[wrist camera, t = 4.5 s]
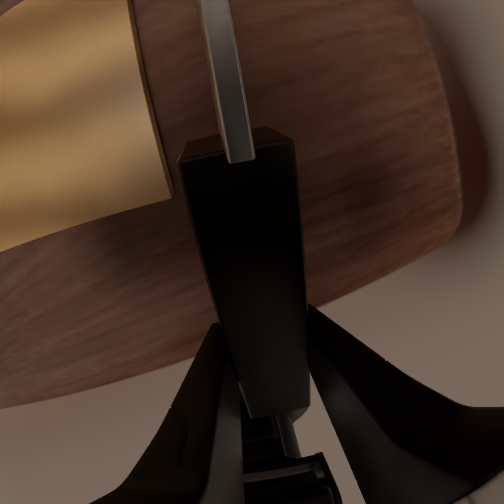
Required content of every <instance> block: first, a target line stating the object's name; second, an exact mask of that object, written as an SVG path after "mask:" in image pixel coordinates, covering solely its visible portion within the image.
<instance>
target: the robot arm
mask: <svg viewBox="0 0 504 504" xmlns="http://www.w3.org/2000/svg"><path fill="white" fill-rule="evenodd" d="M308 324H309V328H308V358H309V370H310V373H311V375H312V378H313V380H314V382H315V385H316V387H317V390H318V392H319V394H320V397H321V399H322V401H323V404H324V406H325V408H326V411H327V413H328V415H329V418H330V420H331V422H332V425H333V427H334V429H335V431H336V434H337V436H338V439H339V441H340V443H341V446H342V448H343V450H344V453H345V455H346V457H347V460H348V462H349V465H350V467H351V469H352V471H353V474H354V476H355V479H356V480H357V484H358V486H359V488H360V491H361V493H362V495H363V497H364V500H365V502H366V504H504V407H470V406H465V405H462V404H459V403H457V402H455V401H453V400H451V399H449V398H447V397H445V396H443V395H442V394H440V393H438V392H436V391H434V390H433V389H431V388H429V387H427V386H425V385H423V384H422V383H420V382H418V381H417V380H415V379H413V378H412V377H410V376H408V375H406V374H405V373H404V372H402V371H401V370H399V369H398V368H397V367H395V366H394V365H392V364H391V363H390V362H388V361H385V359H384V358H383V357H381V356H380V355H378V354H377V353H376V352H374V351H373V350H372V349H370V348H369V347H367V346H366V345H365V344H363V343H362V342H361V341H359V340H358V339H357V338H355V337H354V336H353V335H351V334H350V333H348V332H347V331H346V330H344V329H343V328H342V327H340V326H339V325H338V324H336V323H335V322H334V321H332V320H331V319H329V318H328V317H327V316H325V315H324V314H323V313H321V312H320V311H319V310H317V309H316V308H315V307H313V306H312V305H311V304H308ZM294 422H295V417H294V411H290V412H285V413H281V414H276V415H271V416H266V417H261V418H256V419H251V417H250V415H249V412H248V409H247V406H246V403H245V400H244V397H243V396H240V394H239V384H238V379H237V376H236V373H235V370H234V367H233V364H232V361H231V358H230V355H229V351H228V348H227V346H226V343H225V340H224V336H223V333H222V330H221V327H220V324H219V322H217V323H213V324H212V325H211V327H210V329H209V331H208V333H207V335H206V337H205V339H204V341H203V343H202V345H201V347H200V349H199V351H198V353H197V355H196V357H195V359H194V361H193V363H192V365H191V367H190V369H189V371H188V373H187V375H186V377H185V379H184V381H183V383H182V385H181V387H180V389H179V391H178V393H177V395H176V397H175V399H174V401H173V403H172V405H171V408H170V409H169V411H168V413H167V415H166V417H165V419H164V421H163V423H162V424H161V426H160V429H159V430H158V432H157V433H156V435H155V436H154V438H153V440H152V441H151V443H150V444H149V446H148V447H147V449H146V450H145V452H144V454H143V455H142V457H141V458H140V459H139V461H138V462H137V464H136V465H135V467H134V468H133V470H132V471H131V473H130V474H129V476H128V477H127V478H126V479H125V481H124V482H123V483H122V484H121V485H120V486H119V487H118V488H116V489H115V490H114V491H112V492H110V493H108V494H107V495H105V496H103V497H101V498H99V499H97V500H95V501H93V502H91V503H89V504H343V503H342V499H341V495H340V492H339V489H338V487H337V485H336V482H335V480H334V478H333V476H332V473H331V471H330V469H329V467H328V464H327V462H326V460H325V457H324V455H323V453H322V452H320V453H316V454H315V455H311V456H307V457H301V454H300V450H299V446H298V442H297V438H296V435H295V431H294V427H293V423H294Z"/></svg>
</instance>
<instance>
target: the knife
mask: <svg viewBox="0 0 504 504" xmlns="http://www.w3.org/2000/svg"><path fill="white" fill-rule="evenodd" d="M196 4H197V10H198V15H199V21H200V27H201V33H202V39H203V44H204V50H205V56H206V61H207V67H208V73H209V78H210V84H211V89H212V95H213V100H214V106H215V111H216V117H217V122H218V128H219V133H220V135H215V136H210V137H205V138H201V139H196V140H191V141H188V142H186V143H185V146H184V148H183V150H182V152H181V154H180V156H179V158H178V160H177V168H178V172H179V177H180V181H181V185H182V189H183V193H184V197H185V201H186V205H187V209H188V213H189V217H190V221H191V225H192V229H193V232H194V236H195V240H196V244H197V247H198V251H199V255H200V258H201V262H202V265H203V269H204V273H205V276H206V280H207V283H208V287H209V290H210V293H211V297H212V300H213V304H214V307H215V310H216V314H217V317H218V320H219V324H220V327H221V330H222V333H223V336H224V340H225V343H226V346H227V348H228V351H229V355H230V358H231V361H232V364H233V367H234V370H235V373H236V376H237V379H238V383H239V386H240V389H241V392H242V395H243V397H244V400H245V403H246V406H247V409H248V412H249V415H250V417H251V419H256V418H261V417H266V416H271V415H276V414H281V413H285V412H290V411H294V410H298V409H302V408H306V407H309V406H310V370H309V358H308V328H309V324H308V302H307V283H306V267H305V252H304V238H303V226H302V214H301V203H300V192H299V182H298V172H297V163H296V154H295V145H294V141H293V140H292V139H290V138H288V137H287V136H285V135H283V134H281V133H279V132H278V131H276V130H274V129H272V128H270V127H261V128H255V129H251V125H250V119H249V112H248V106H247V100H246V94H245V88H244V82H243V76H242V70H241V64H240V58H239V53H238V47H237V41H236V35H235V30H234V24H233V19H232V13H231V7H230V2H229V0H196Z"/></svg>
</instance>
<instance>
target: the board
mask: <svg viewBox="0 0 504 504" xmlns="http://www.w3.org/2000/svg"><path fill="white" fill-rule="evenodd" d="M173 192H174V190H173V186H172V183H171V179H170V175H169V172H168V168H167V164H166V160H165V156H164V153H163V149H162V145H161V141H160V137H159V133H158V129H157V124H156V120H155V116H154V112H153V107H152V103H151V99H150V94H149V90H148V85H147V81H146V76H145V71H144V66H143V61H142V56H141V51H140V46H139V41H138V35H137V30H136V24H135V19H134V13H133V7H132V0H24V1H22V2H21V3H19V4H18V5H16V6H15V7H13V8H12V9H10V10H9V11H7V12H6V13H4V14H3V15H2V16H0V252H2V251H5V250H7V249H10V248H13V247H15V246H18V245H21V244H23V243H26V242H29V241H32V240H35V239H38V238H40V237H43V236H46V235H49V234H52V233H55V232H58V231H61V230H64V229H67V228H70V227H73V226H77V225H80V224H83V223H86V222H89V221H93V220H96V219H99V218H103V217H106V216H109V215H113V214H116V213H120V212H123V211H127V210H130V209H134V208H138V207H141V206H145V205H149V204H153V203H156V202H160V201H164V200H168V199H171V198H172V195H173Z"/></svg>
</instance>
